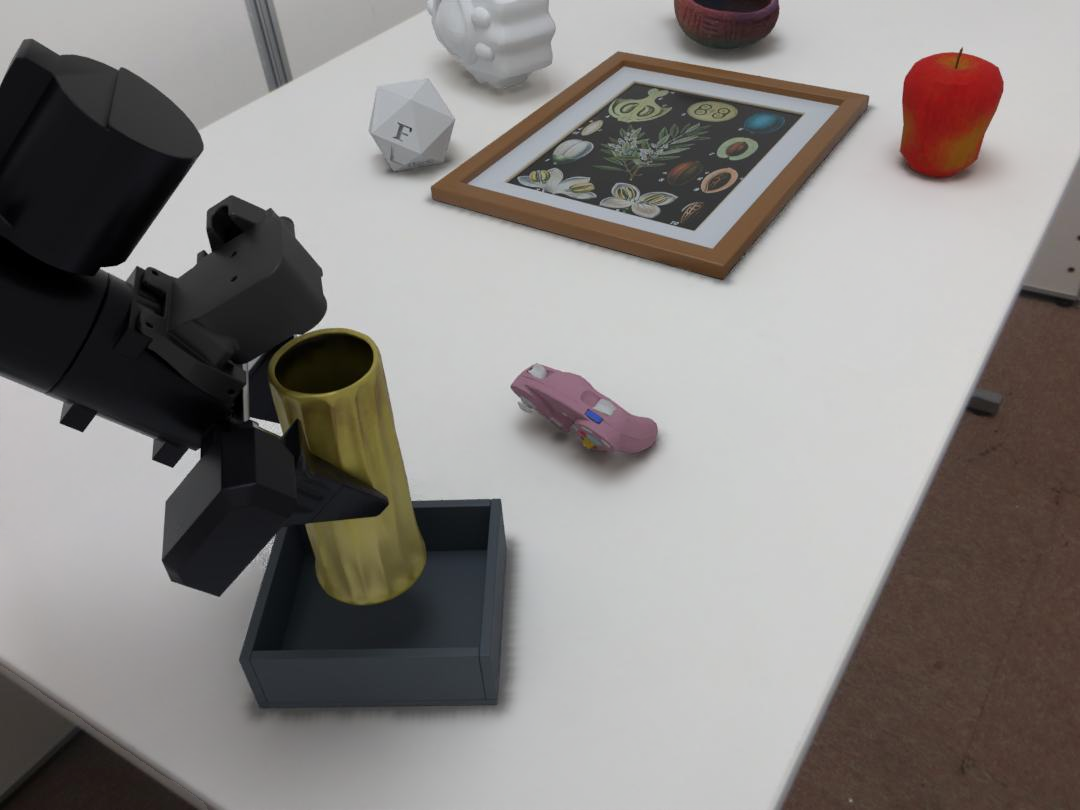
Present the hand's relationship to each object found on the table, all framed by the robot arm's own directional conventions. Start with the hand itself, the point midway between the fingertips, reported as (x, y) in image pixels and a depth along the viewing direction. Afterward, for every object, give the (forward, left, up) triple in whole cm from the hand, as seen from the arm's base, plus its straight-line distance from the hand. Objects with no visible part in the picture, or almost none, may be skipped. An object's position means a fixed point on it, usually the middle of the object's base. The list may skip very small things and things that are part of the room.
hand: (377, 468), depth 50 cm
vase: (-1, 0, -7) cm, 7 cm away
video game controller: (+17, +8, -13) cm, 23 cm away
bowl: (+68, +62, -13) cm, 93 cm away
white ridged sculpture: (+40, +68, -13) cm, 80 cm away
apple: (+66, +23, -13) cm, 71 cm away
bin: (-1, 0, -12) cm, 12 cm away
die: (+24, +54, -13) cm, 61 cm away
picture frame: (+46, +41, -13) cm, 63 cm away
